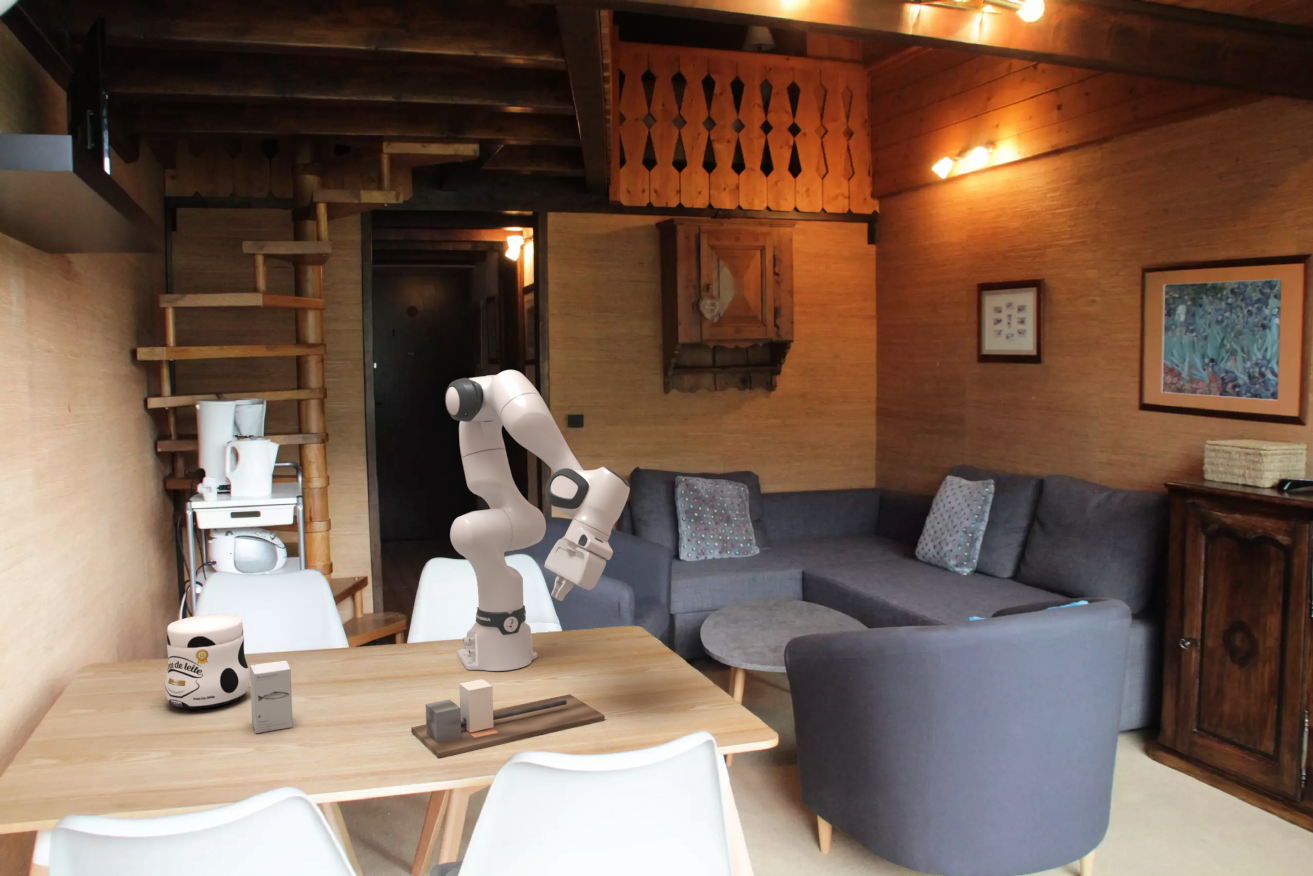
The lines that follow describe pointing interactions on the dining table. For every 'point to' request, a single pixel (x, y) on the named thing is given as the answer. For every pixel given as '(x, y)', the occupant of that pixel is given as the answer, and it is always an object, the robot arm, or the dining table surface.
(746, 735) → the dining table surface
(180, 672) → the milk container
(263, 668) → the supplement box
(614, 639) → the dining table surface
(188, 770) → the dining table surface
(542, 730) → the wooden slider track base
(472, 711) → the cream sliding block
